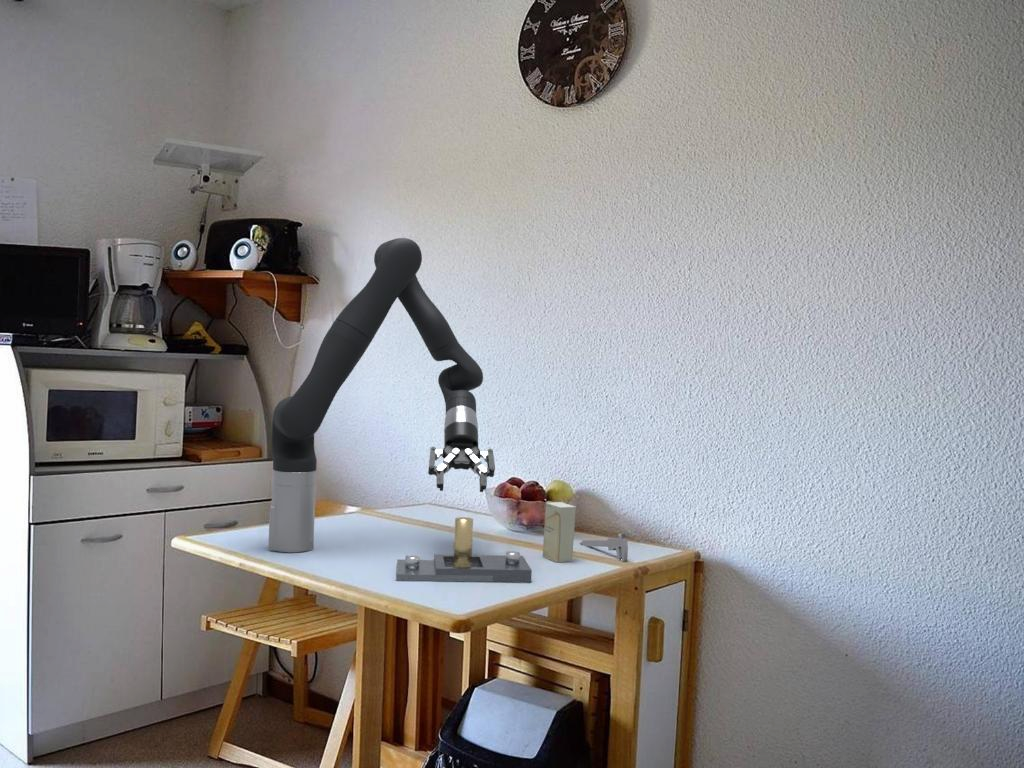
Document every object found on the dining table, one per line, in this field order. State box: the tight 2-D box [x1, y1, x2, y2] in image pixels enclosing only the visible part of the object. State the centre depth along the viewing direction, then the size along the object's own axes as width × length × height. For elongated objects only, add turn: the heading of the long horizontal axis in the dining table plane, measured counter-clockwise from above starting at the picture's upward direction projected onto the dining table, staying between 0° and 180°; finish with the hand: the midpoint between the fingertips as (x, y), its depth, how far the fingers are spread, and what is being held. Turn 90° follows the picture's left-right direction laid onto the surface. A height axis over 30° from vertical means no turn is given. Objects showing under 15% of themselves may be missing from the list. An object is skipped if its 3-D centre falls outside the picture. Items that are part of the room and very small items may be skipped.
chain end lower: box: [396, 554, 494, 583], centre depth 177 cm, size 18×13×3 cm
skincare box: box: [542, 501, 577, 563], centre depth 195 cm, size 6×4×12 cm
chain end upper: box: [433, 550, 533, 583], centre depth 178 cm, size 18×13×4 cm
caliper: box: [579, 533, 629, 562], centre depth 205 cm, size 20×1×6 cm, turn 24°
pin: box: [453, 516, 474, 567], centre depth 178 cm, size 4×4×11 cm
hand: (461, 489), depth 188 cm, fingers open, 8 cm apart
